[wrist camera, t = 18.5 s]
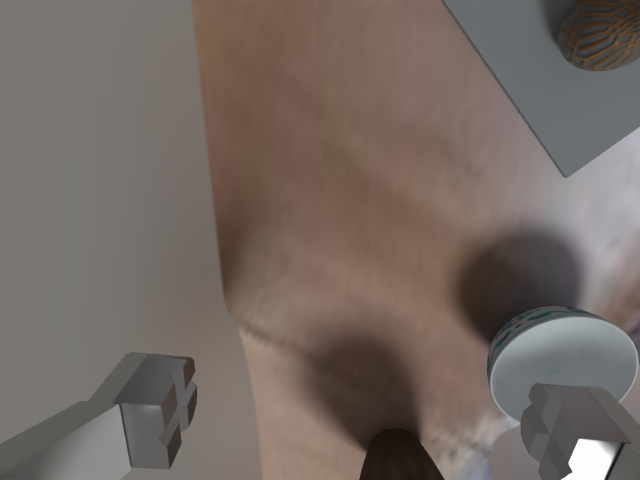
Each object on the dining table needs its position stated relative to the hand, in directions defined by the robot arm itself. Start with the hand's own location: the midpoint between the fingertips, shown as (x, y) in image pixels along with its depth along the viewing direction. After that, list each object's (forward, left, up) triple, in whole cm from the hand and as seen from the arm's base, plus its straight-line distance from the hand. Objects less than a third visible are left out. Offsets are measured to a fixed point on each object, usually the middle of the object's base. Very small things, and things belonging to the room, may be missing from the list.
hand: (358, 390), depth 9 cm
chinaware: (+32, +3, -34) cm, 47 cm away
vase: (+6, +24, -34) cm, 42 cm away
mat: (+6, +24, -34) cm, 42 cm away
